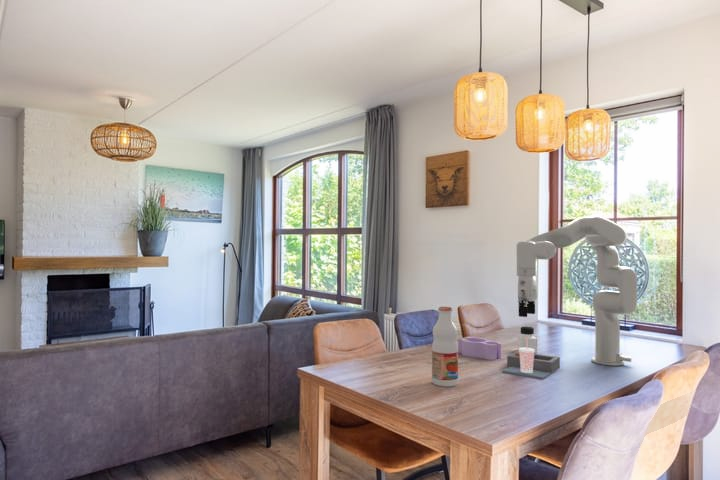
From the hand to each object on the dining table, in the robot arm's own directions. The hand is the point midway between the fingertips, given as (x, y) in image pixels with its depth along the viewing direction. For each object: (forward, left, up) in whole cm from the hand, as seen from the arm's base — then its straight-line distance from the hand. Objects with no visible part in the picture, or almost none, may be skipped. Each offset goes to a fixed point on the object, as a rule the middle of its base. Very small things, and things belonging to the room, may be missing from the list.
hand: (527, 315), depth 188 cm
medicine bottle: (+13, -41, -24) cm, 49 cm away
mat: (0, 0, -23) cm, 23 cm away
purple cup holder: (+28, -18, -24) cm, 41 cm away
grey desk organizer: (+1, -12, -23) cm, 26 cm away
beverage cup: (0, 0, -23) cm, 23 cm away
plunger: (+7, -12, -23) cm, 26 cm away
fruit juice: (+19, +33, -24) cm, 45 cm away
